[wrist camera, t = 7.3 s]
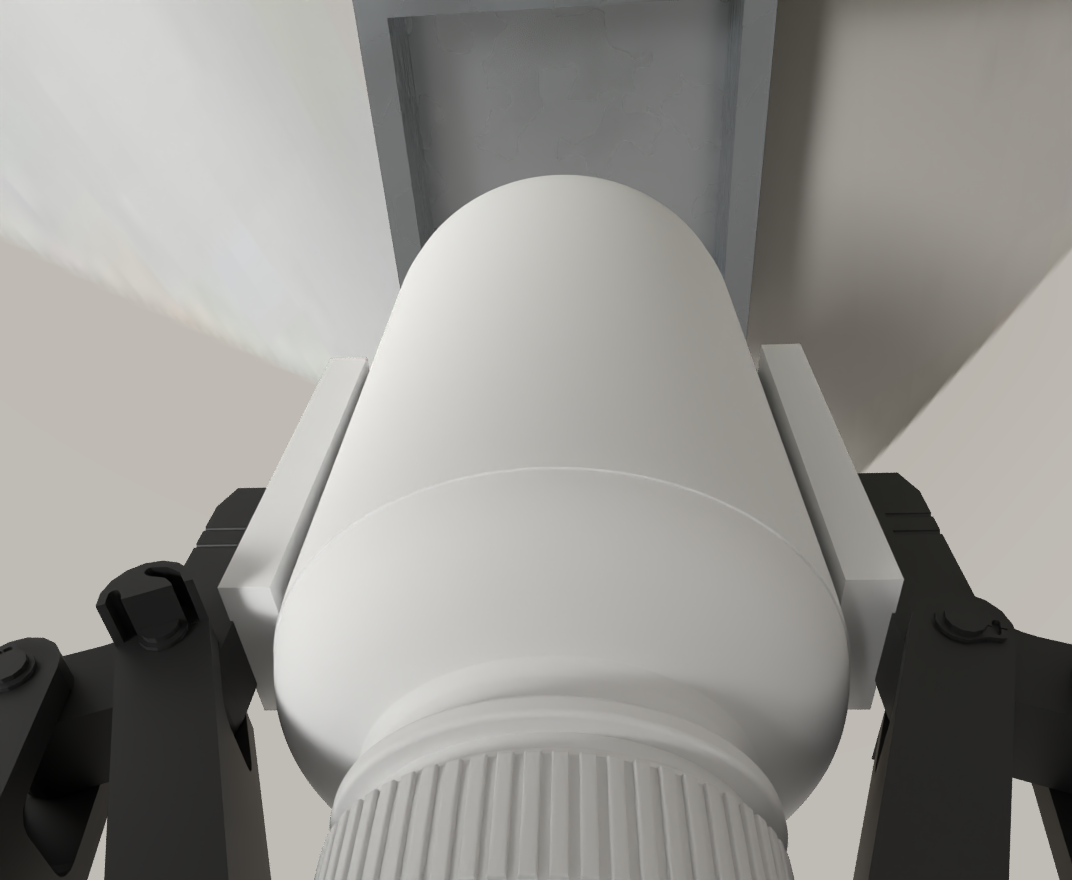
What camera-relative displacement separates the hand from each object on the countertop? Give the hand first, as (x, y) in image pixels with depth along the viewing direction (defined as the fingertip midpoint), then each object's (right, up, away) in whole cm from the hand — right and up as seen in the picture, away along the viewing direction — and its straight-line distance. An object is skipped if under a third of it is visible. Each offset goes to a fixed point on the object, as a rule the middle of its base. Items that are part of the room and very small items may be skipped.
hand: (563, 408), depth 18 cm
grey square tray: (+1, +10, +14) cm, 18 cm away
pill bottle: (0, +2, +3) cm, 4 cm away
